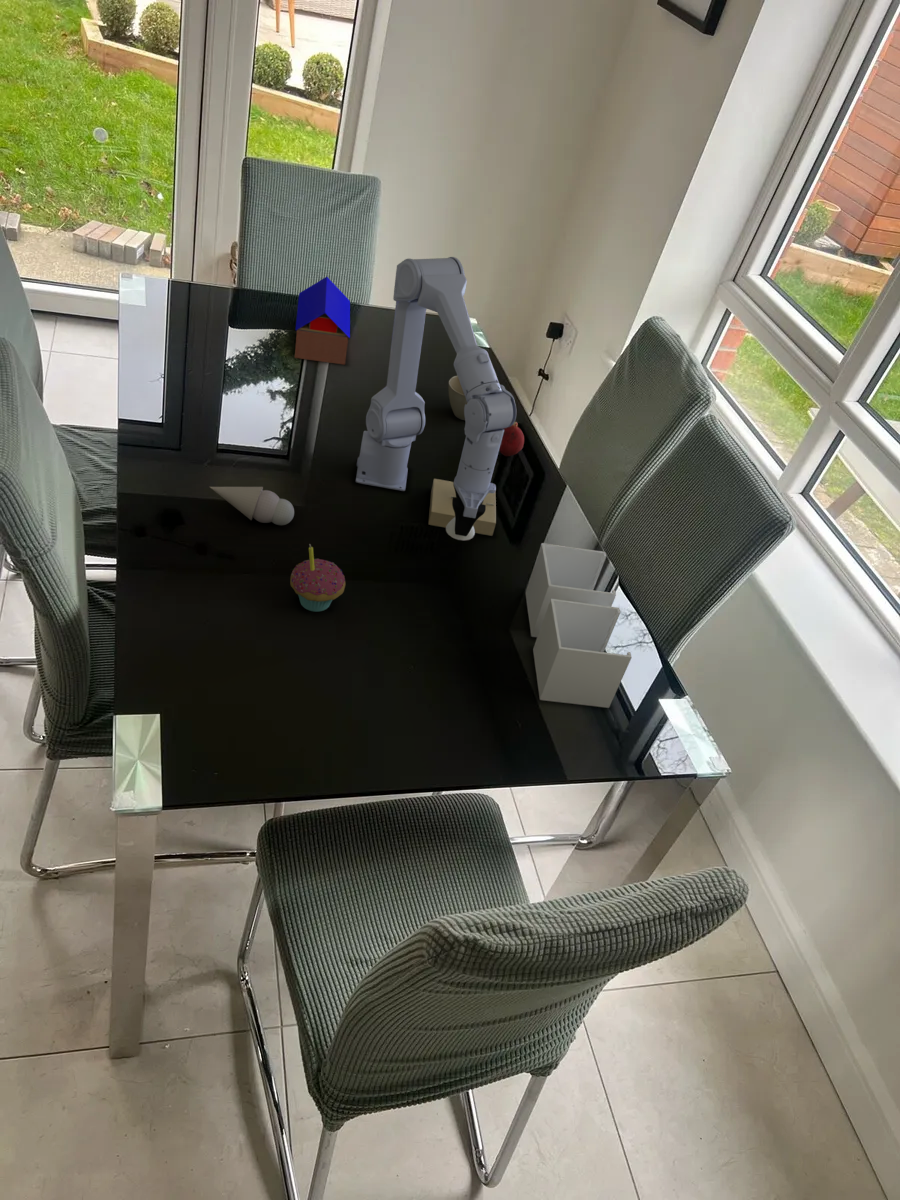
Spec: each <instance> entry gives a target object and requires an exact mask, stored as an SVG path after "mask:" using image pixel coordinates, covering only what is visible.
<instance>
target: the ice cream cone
mask: <svg viewBox="0 0 900 1200" xmlns="http://www.w3.org/2000/svg"><path fill="white" fill-rule="evenodd" d="M209 488H210V489H211V490H213V491H214V492H215V493H216V494H217V495H218V496H220V497H221V498H222V499H224V500H225V501H226V502H228V504H230V505H231V506H232V507H234V508H235V509H236V510H237V511H239V512H240V513H241V514H243V516H244V517H246V518H247V519H249V520H250V521H253V519H254V520H255V521H257V522H259V523H261V524H262V523H263V524H268V523H272V524H274V525H277V526H286V525H288V524H289V523H291V522H292V520H293V519H294V516H295V508H294V506H293V504H292V503H291V502H290V501H289V500H287V499H285V498H280V497H279V496H278V494H277V493H275V492H274V491H271V490H268V489H264V486H209Z"/></svg>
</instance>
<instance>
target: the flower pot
mask: <svg viewBox="0 0 900 1200" xmlns="http://www.w3.org/2000/svg"><path fill="white" fill-rule="evenodd" d="M447 389H448V399H449V404H450V407H451V410H452V413H453V414H454V416H455V417H456V418H457V419H459V420H461V421H465V415H464V407H465V404H466V405H467V400H466V397H465V395H464V392H463V389H462V387H461V384H460V381H459V379H458V376H457V375H454V376H452V377H451V378H449V380H448V388H447Z"/></svg>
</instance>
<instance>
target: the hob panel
mask: <svg viewBox="0 0 900 1200" xmlns="http://www.w3.org/2000/svg"><path fill="white" fill-rule="evenodd" d="M453 482H454V481H449V480H444V479H439V478H433V482H432V484H431V485H432V486H431V491H430V501H429V513H428V523H427V524H428V525H430V526H434V527H440V528H444V529H446V526H447V524H448V523H449V522H450V521H451V520H452V519H453V518H454V517H455V512H454V510H453V506H452V500H453V497H456V493H455V489H454V486H453ZM496 491H497V490H496ZM496 491H495V493H488V494H487V495H486V497H485V498H484V501H483V505H486V510H485V512H484V514H483V515H482V516H480V517H479V518H478V519H477V520H476V522H475V523H474V525H473V527H474V530H475V534H479V535H485V536H491V537H493V535H494V532H495V528H496V524H497V506H496V505H497V503H496V502H497V500H496V499H497V497H496V494H497V493H496Z"/></svg>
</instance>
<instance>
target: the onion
mask: <svg viewBox="0 0 900 1200" xmlns="http://www.w3.org/2000/svg"><path fill="white" fill-rule="evenodd" d="M524 444H525V435H524V433H523V431H522V429H521V428H520V427H519V424H518V422H517V421H515V422H514V424H513V425H512V426H510V427H507V428H504V433H503V437H502V441H501V445H500V448H499V453H500V454H501V455H503V456H504V457H506V458H507V457H512V456H515V455H517V454H518V453H519V452H521V451H522V449H523V448H524Z"/></svg>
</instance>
